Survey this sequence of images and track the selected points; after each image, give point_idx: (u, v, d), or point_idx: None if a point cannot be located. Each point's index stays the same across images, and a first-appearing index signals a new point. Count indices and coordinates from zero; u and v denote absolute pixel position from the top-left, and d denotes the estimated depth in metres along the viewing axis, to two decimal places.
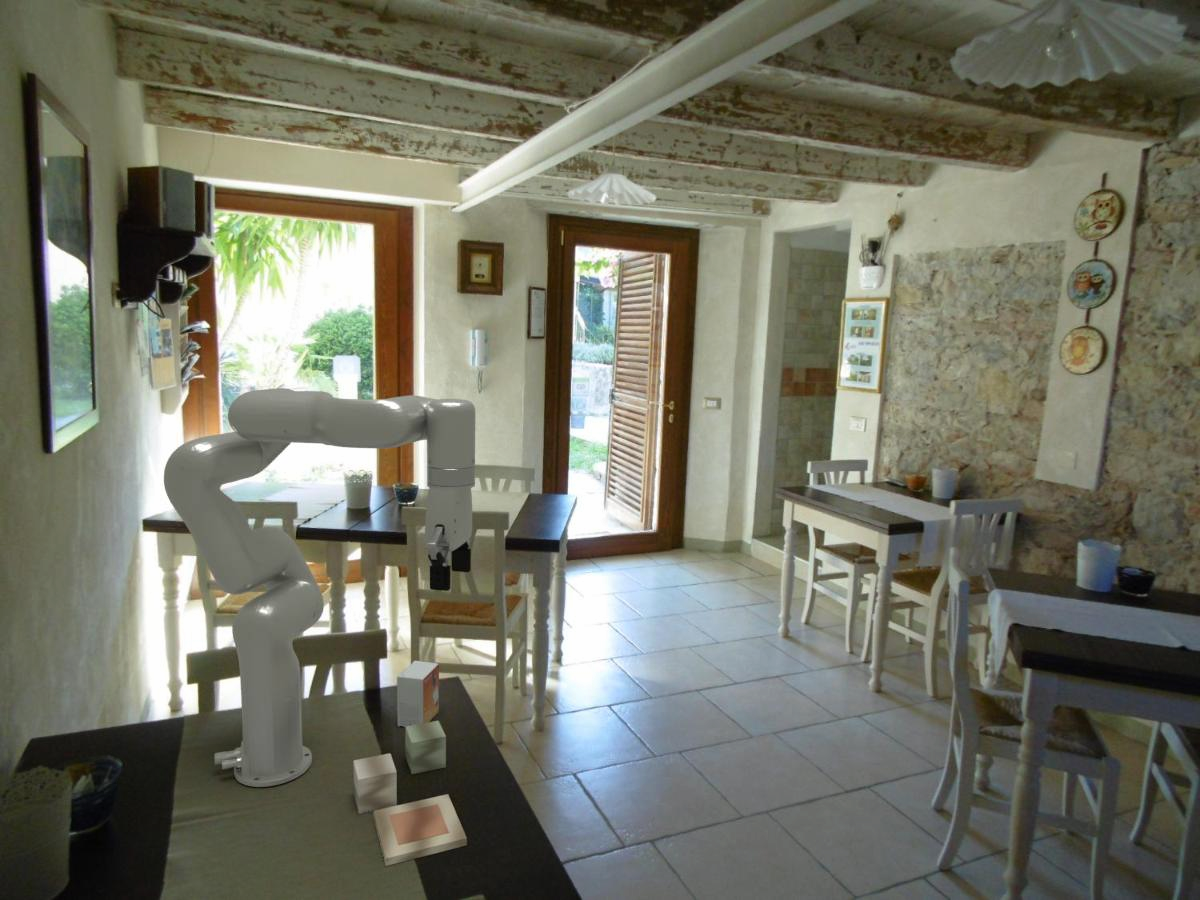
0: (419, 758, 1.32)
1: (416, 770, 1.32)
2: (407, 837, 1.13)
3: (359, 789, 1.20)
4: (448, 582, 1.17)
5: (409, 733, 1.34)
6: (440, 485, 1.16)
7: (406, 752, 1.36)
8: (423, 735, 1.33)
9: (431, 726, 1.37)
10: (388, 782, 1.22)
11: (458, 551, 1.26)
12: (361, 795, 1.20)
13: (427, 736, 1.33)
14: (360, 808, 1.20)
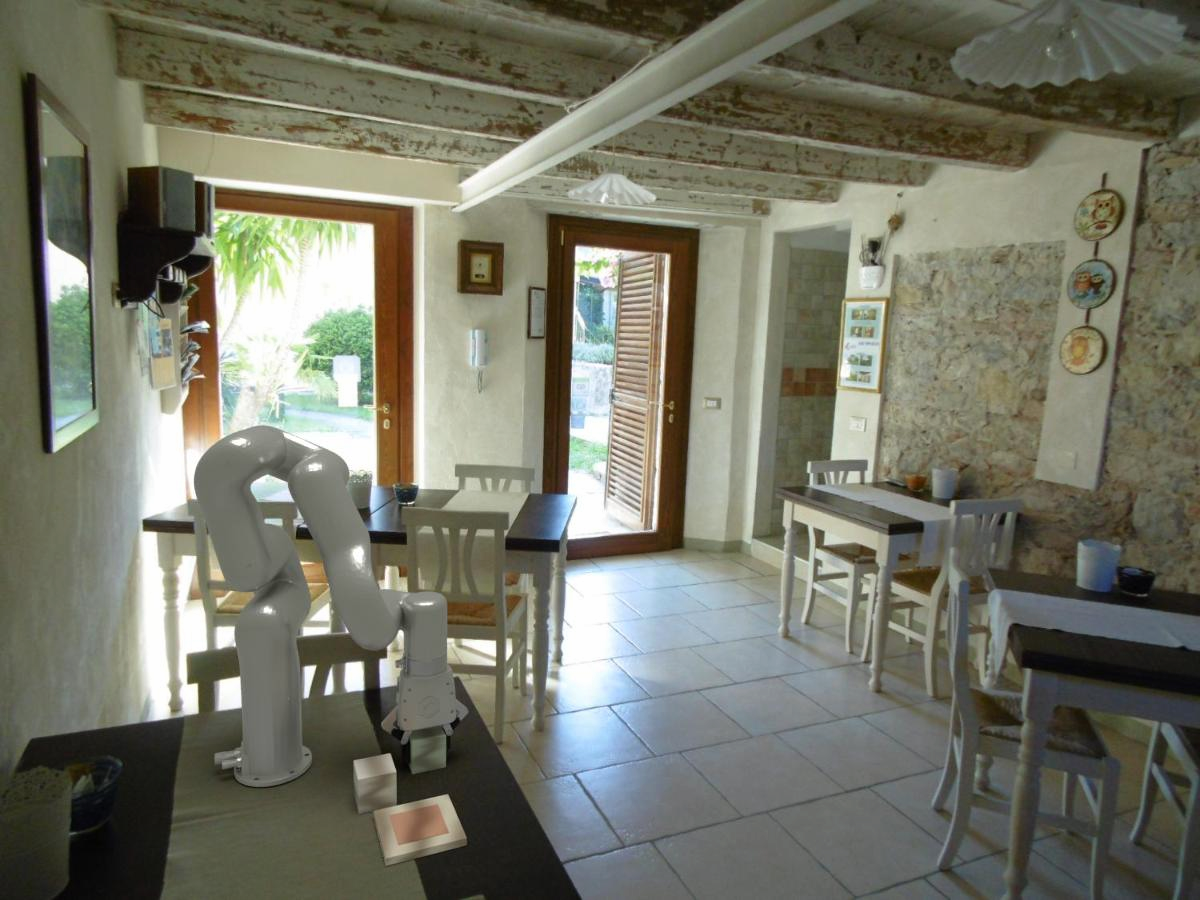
0: (420, 757, 1.32)
1: (416, 770, 1.32)
2: (407, 837, 1.13)
3: (359, 789, 1.20)
4: None
5: None
6: None
7: None
8: (423, 735, 1.33)
9: None
10: (388, 782, 1.22)
11: (409, 742, 1.34)
12: (361, 795, 1.20)
13: (427, 735, 1.33)
14: (360, 808, 1.20)
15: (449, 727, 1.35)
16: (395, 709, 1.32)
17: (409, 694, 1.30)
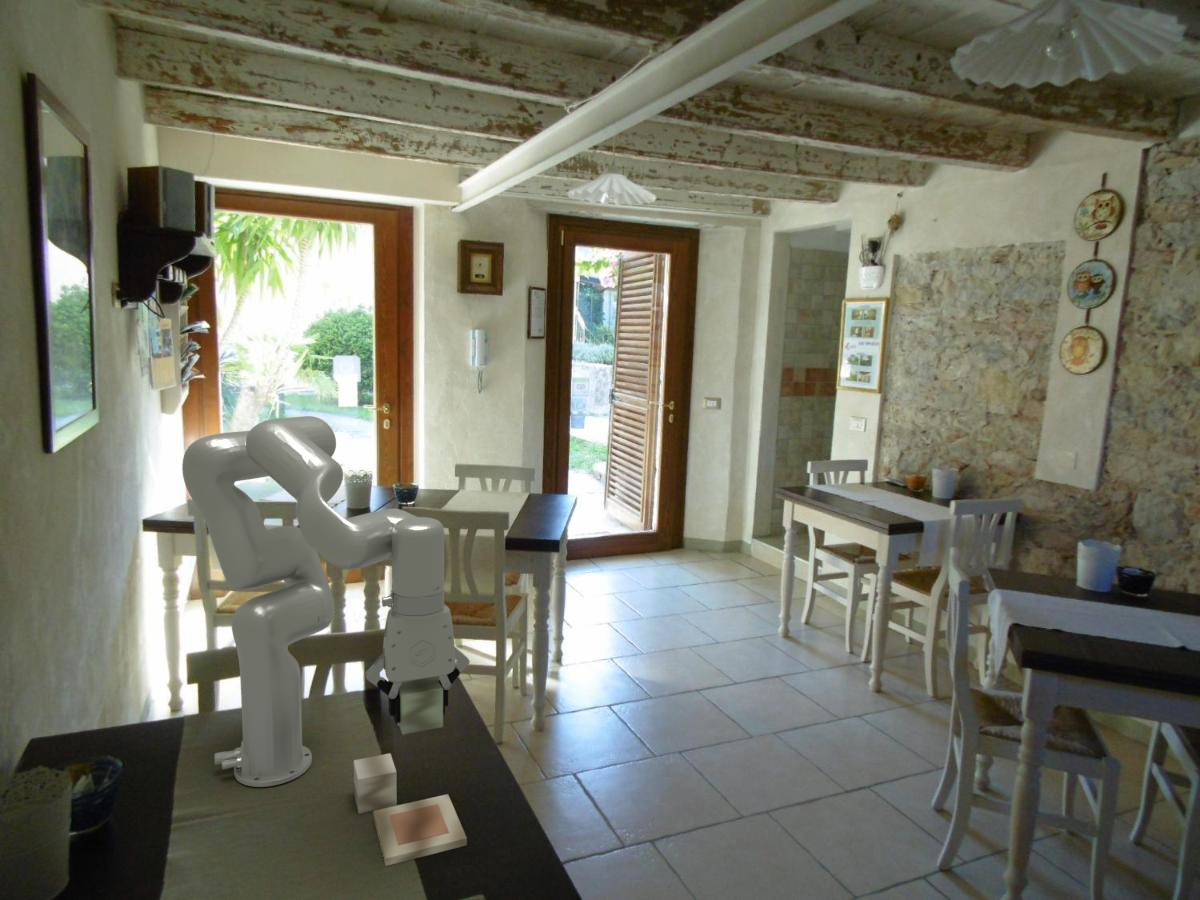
0: (412, 714, 1.10)
1: (407, 729, 1.10)
2: (407, 837, 1.13)
3: (359, 789, 1.20)
4: None
5: None
6: None
7: None
8: (415, 688, 1.12)
9: None
10: (388, 782, 1.22)
11: None
12: (361, 795, 1.20)
13: (421, 688, 1.12)
14: (360, 808, 1.20)
15: (447, 679, 1.14)
16: (382, 656, 1.10)
17: (399, 637, 1.08)
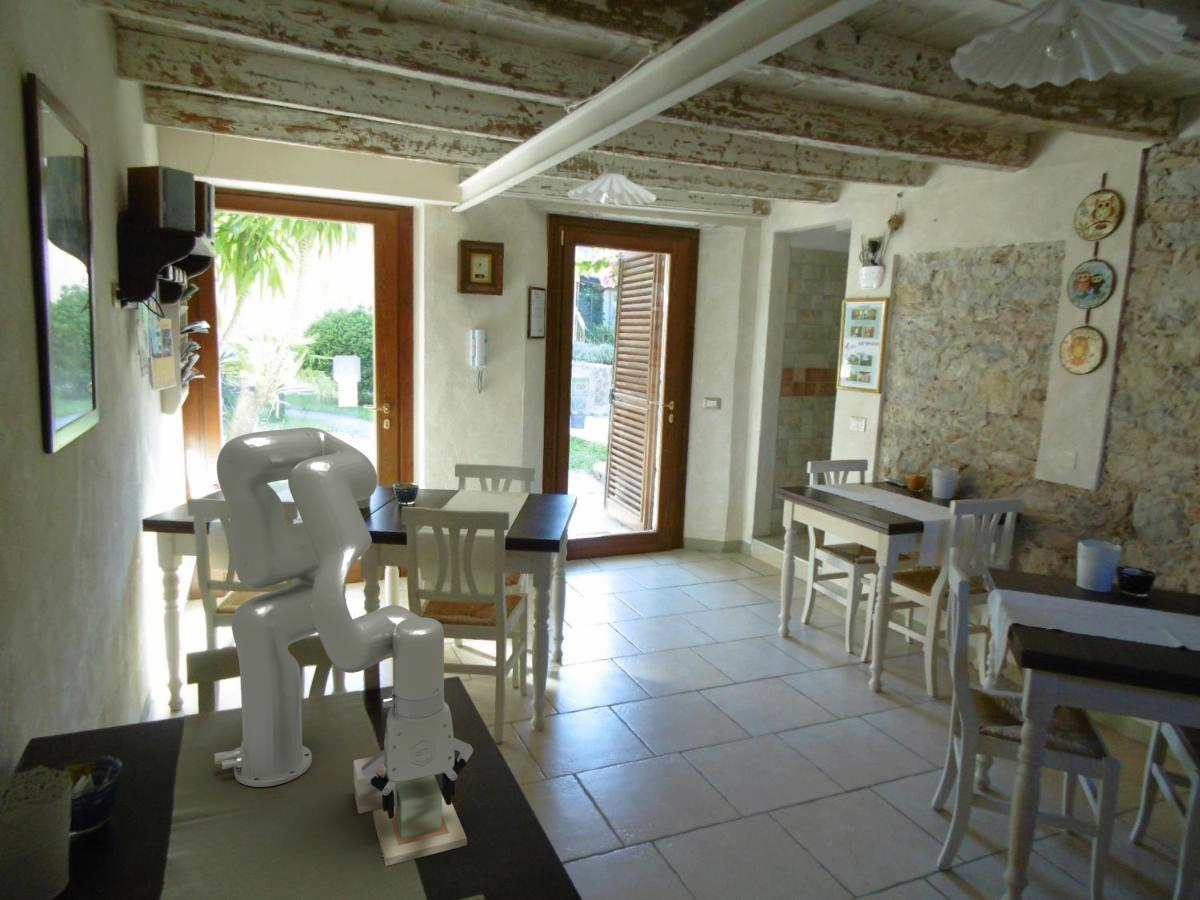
0: (411, 820, 1.13)
1: (407, 835, 1.13)
2: None
3: (359, 789, 1.20)
4: None
5: (399, 790, 1.15)
6: None
7: (396, 811, 1.17)
8: (415, 793, 1.14)
9: (425, 781, 1.17)
10: None
11: (392, 792, 1.14)
12: (361, 795, 1.20)
13: (420, 794, 1.14)
14: (360, 808, 1.20)
15: (452, 771, 1.16)
16: (381, 753, 1.12)
17: (399, 738, 1.10)
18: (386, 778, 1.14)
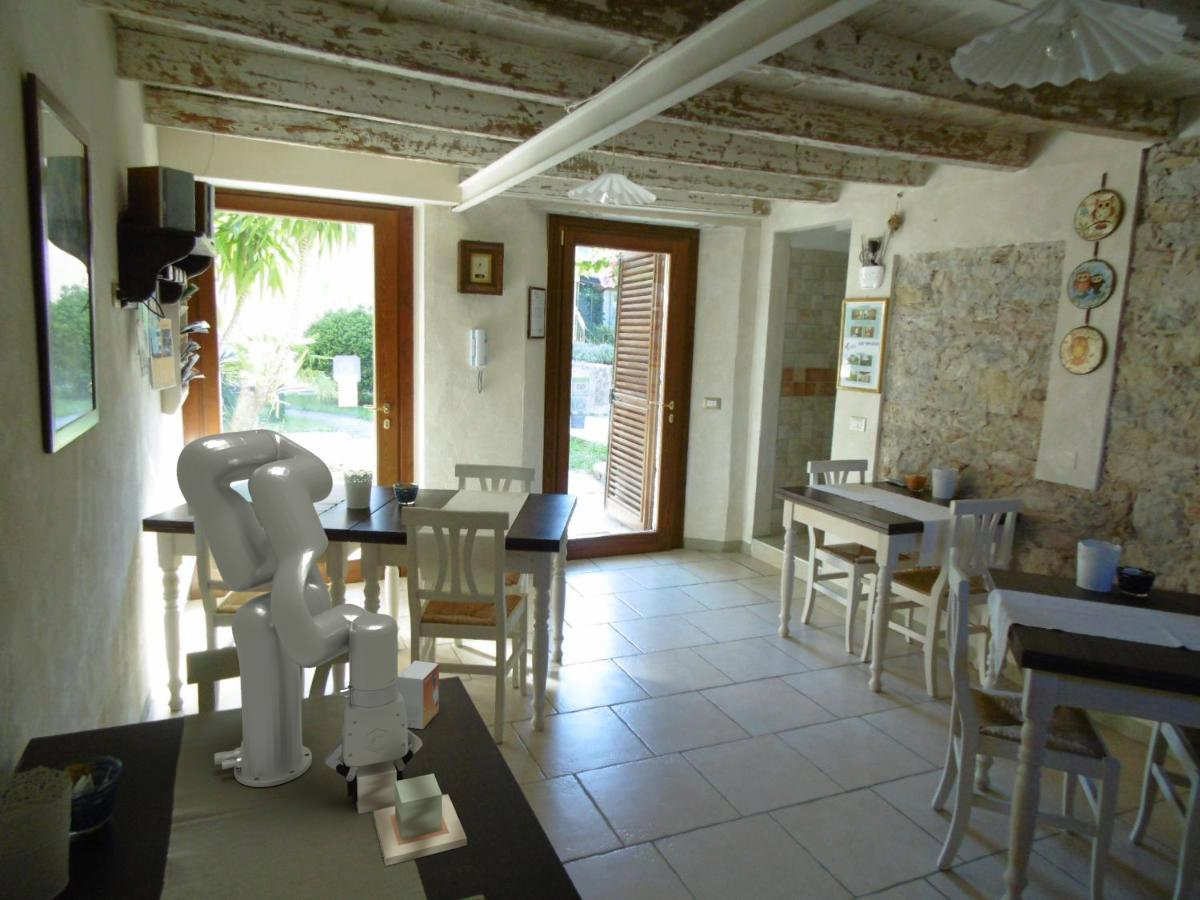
0: (411, 820, 1.13)
1: (407, 835, 1.13)
2: None
3: (359, 789, 1.20)
4: None
5: (399, 790, 1.15)
6: None
7: (396, 811, 1.17)
8: (415, 793, 1.14)
9: (425, 781, 1.17)
10: (388, 781, 1.22)
11: (356, 778, 1.22)
12: (361, 795, 1.20)
13: (420, 794, 1.14)
14: (360, 807, 1.20)
15: (401, 761, 1.24)
16: (340, 743, 1.20)
17: (355, 726, 1.18)
18: None
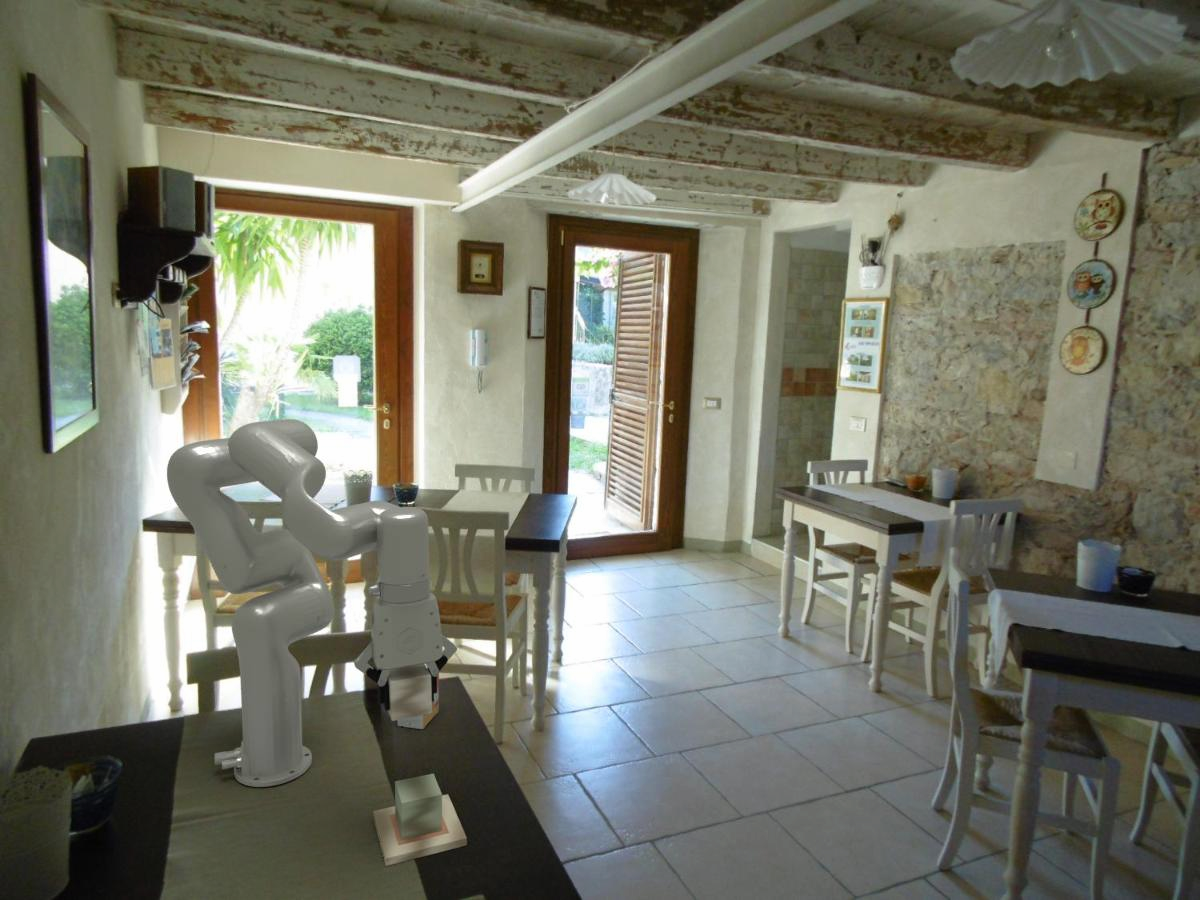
0: (411, 820, 1.13)
1: (407, 835, 1.13)
2: None
3: (392, 693, 1.11)
4: None
5: (399, 790, 1.15)
6: None
7: (396, 811, 1.17)
8: (415, 793, 1.14)
9: (425, 781, 1.17)
10: (422, 686, 1.13)
11: None
12: (394, 700, 1.12)
13: (420, 794, 1.14)
14: (393, 714, 1.12)
15: (435, 666, 1.16)
16: (370, 645, 1.12)
17: (386, 625, 1.10)
18: (380, 671, 1.14)
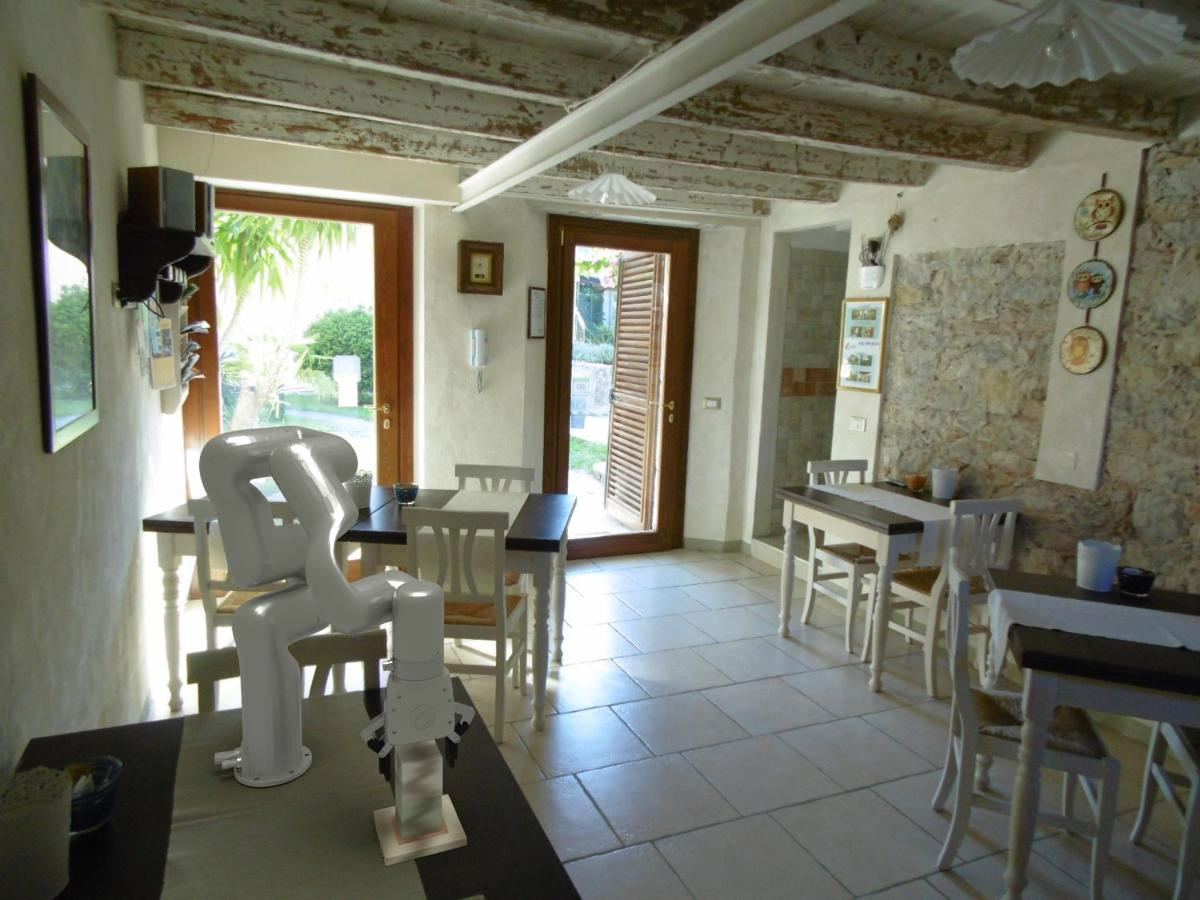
0: (411, 820, 1.13)
1: (407, 835, 1.13)
2: None
3: (403, 776, 1.11)
4: None
5: None
6: None
7: (396, 811, 1.17)
8: None
9: None
10: (433, 768, 1.13)
11: None
12: (406, 783, 1.11)
13: None
14: (404, 796, 1.12)
15: (454, 734, 1.15)
16: (381, 716, 1.11)
17: (399, 701, 1.09)
18: (383, 741, 1.13)
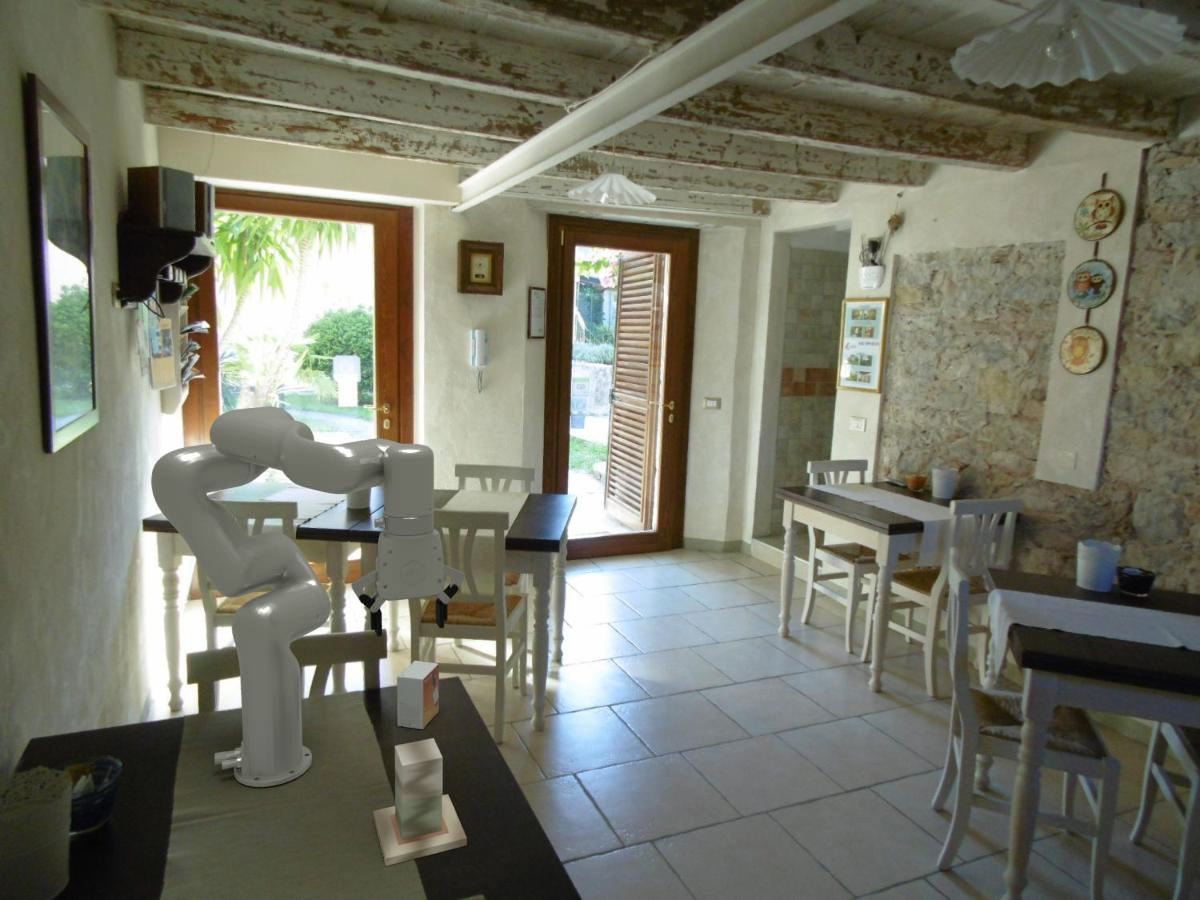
0: (411, 820, 1.13)
1: (407, 835, 1.13)
2: None
3: (403, 776, 1.11)
4: None
5: None
6: None
7: (396, 811, 1.17)
8: None
9: None
10: (433, 768, 1.13)
11: (380, 611, 1.16)
12: (406, 783, 1.11)
13: None
14: (404, 796, 1.12)
15: (444, 595, 1.19)
16: (372, 572, 1.15)
17: (390, 556, 1.13)
18: (375, 599, 1.16)
